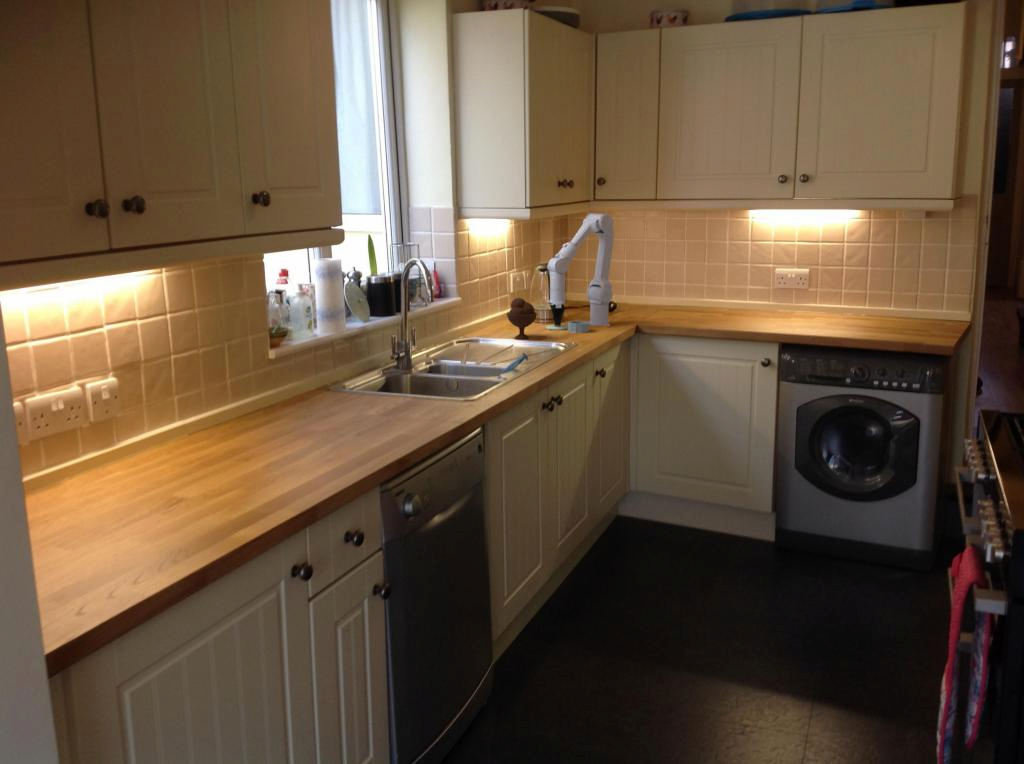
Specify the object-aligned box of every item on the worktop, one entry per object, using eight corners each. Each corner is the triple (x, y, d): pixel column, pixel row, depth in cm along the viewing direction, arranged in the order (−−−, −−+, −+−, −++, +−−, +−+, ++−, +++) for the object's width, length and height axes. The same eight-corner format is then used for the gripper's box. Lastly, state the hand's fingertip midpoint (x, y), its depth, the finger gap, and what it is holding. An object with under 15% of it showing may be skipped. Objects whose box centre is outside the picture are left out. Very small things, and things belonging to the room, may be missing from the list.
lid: (545, 326, 380) (545, 314, 379) (567, 326, 380) (568, 314, 379) (546, 330, 371) (546, 317, 370) (569, 330, 371) (569, 317, 370)
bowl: (567, 331, 372) (567, 320, 372) (587, 330, 373) (587, 320, 372) (568, 334, 365) (568, 324, 364) (589, 334, 365) (590, 323, 364)
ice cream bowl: (512, 341, 350) (512, 300, 347) (503, 336, 360) (503, 296, 357) (540, 340, 353) (540, 299, 349) (531, 335, 363) (531, 295, 360)
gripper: (546, 287, 379) (545, 321, 382) (548, 291, 365) (548, 327, 368) (564, 287, 380) (563, 321, 383) (566, 291, 365) (566, 326, 368)
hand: (557, 324), depth 375 cm, fingers open, 4 cm apart
